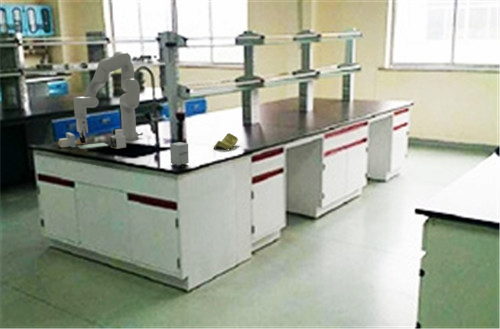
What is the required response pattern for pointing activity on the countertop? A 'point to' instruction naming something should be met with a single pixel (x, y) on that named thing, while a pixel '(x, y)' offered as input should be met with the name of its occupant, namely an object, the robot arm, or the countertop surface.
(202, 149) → the countertop surface
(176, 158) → the supplement box
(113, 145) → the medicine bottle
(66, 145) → the plug
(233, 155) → the countertop surface
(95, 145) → the mat
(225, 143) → the plastic component
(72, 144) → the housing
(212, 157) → the countertop surface
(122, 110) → the robot arm
